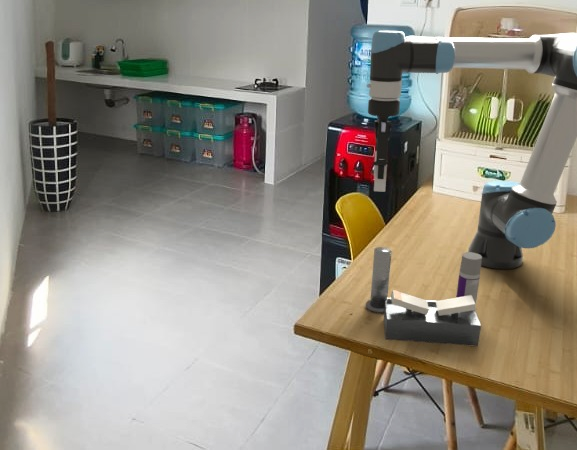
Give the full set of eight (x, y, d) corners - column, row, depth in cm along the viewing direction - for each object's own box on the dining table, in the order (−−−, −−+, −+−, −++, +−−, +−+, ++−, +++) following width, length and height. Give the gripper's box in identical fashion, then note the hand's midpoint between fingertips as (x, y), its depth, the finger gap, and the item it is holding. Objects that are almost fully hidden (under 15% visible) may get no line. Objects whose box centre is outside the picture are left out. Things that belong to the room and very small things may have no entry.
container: (451, 309, 155) (458, 252, 150) (470, 308, 155) (478, 251, 150) (457, 318, 150) (465, 259, 145) (477, 318, 151) (485, 259, 146)
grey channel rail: (470, 325, 147) (474, 301, 145) (478, 345, 139) (481, 320, 136) (383, 319, 149) (385, 295, 146) (385, 339, 140) (387, 314, 138)
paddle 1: (424, 305, 144) (426, 300, 143) (426, 314, 140) (429, 309, 139) (390, 295, 144) (393, 289, 143) (392, 304, 140) (394, 298, 139)
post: (389, 303, 157) (395, 246, 152) (391, 314, 151) (396, 256, 146) (365, 301, 157) (369, 244, 152) (365, 312, 152) (370, 254, 147)
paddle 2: (472, 300, 142) (471, 295, 142) (476, 309, 138) (475, 304, 138) (436, 306, 144) (435, 301, 143) (438, 315, 140) (437, 310, 139)
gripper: (368, 90, 165) (364, 169, 172) (368, 106, 142) (363, 197, 149) (398, 91, 164) (392, 170, 172) (402, 107, 141) (396, 198, 148)
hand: (379, 183), depth 160 cm, fingers open, 13 cm apart
